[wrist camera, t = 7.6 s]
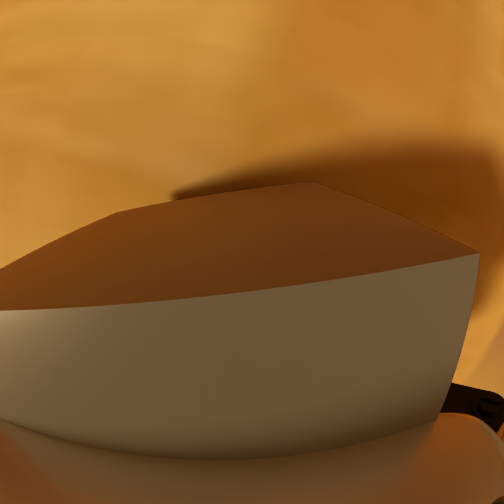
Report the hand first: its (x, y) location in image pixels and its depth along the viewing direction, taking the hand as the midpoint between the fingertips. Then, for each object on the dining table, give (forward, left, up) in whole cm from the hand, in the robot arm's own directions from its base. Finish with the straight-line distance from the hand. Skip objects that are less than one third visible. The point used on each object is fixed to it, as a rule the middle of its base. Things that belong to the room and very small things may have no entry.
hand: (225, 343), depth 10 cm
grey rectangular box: (0, 0, -2) cm, 2 cm away
